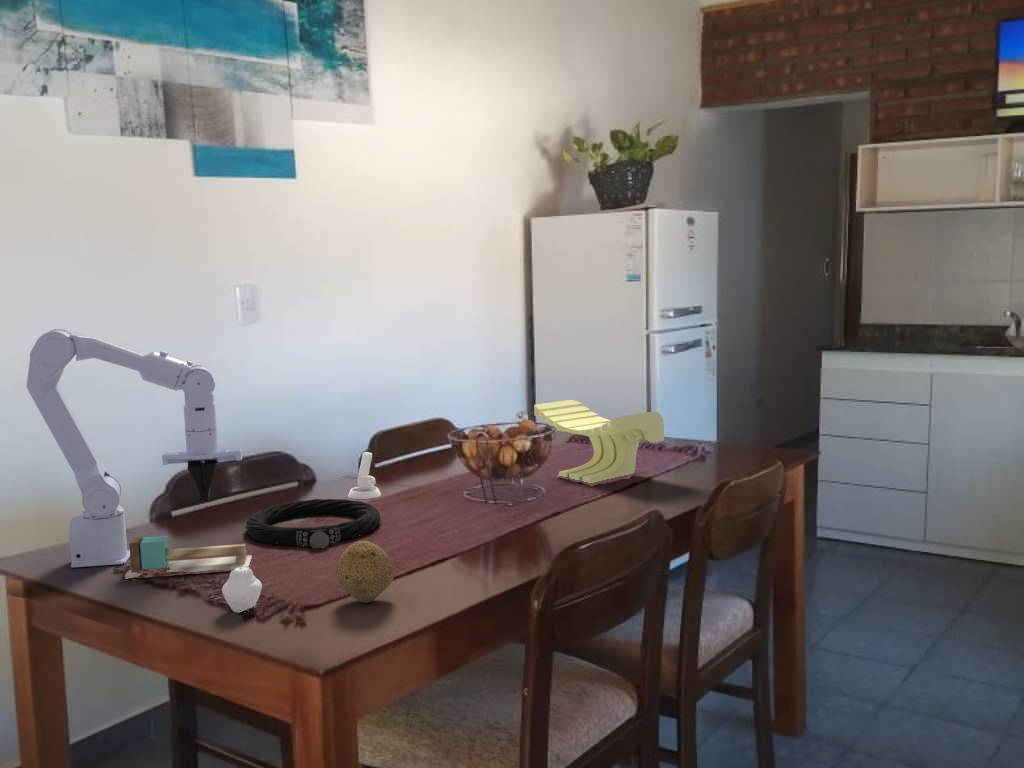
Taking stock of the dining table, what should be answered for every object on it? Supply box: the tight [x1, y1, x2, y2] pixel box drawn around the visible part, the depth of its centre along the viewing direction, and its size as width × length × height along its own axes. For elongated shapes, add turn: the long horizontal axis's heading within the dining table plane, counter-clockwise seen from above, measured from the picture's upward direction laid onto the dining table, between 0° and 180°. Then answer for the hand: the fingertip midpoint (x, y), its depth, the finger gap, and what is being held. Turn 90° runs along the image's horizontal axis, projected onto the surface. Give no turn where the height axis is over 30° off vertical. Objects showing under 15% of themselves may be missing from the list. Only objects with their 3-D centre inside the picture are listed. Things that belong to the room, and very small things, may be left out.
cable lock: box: [244, 498, 381, 549], centre depth 200 cm, size 28×4×30 cm
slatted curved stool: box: [533, 399, 665, 483], centre depth 242 cm, size 30×16×18 cm, turn 38°
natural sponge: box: [335, 540, 394, 604], centre depth 156 cm, size 9×9×10 cm
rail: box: [124, 536, 253, 579], centre depth 175 cm, size 21×7×6 cm, turn 100°
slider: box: [140, 535, 170, 569], centre depth 174 cm, size 4×4×5 cm
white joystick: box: [347, 451, 382, 500], centre depth 231 cm, size 8×12×7 cm
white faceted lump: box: [221, 567, 263, 614], centre depth 153 cm, size 6×6×7 cm
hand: (205, 498), depth 187 cm, fingers closed
